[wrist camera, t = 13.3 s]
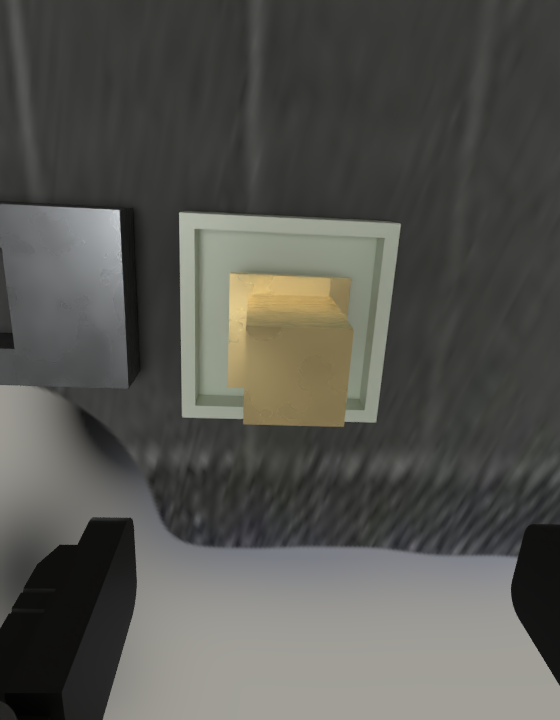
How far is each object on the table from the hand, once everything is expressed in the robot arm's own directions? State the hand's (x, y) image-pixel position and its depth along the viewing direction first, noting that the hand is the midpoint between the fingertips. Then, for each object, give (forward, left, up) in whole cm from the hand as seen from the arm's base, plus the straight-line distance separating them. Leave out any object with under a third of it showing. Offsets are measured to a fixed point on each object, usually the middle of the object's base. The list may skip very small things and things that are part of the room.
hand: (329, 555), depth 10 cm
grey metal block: (-1, -18, -22) cm, 28 cm away
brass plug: (0, 0, -21) cm, 21 cm away
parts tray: (0, 0, -22) cm, 22 cm away
